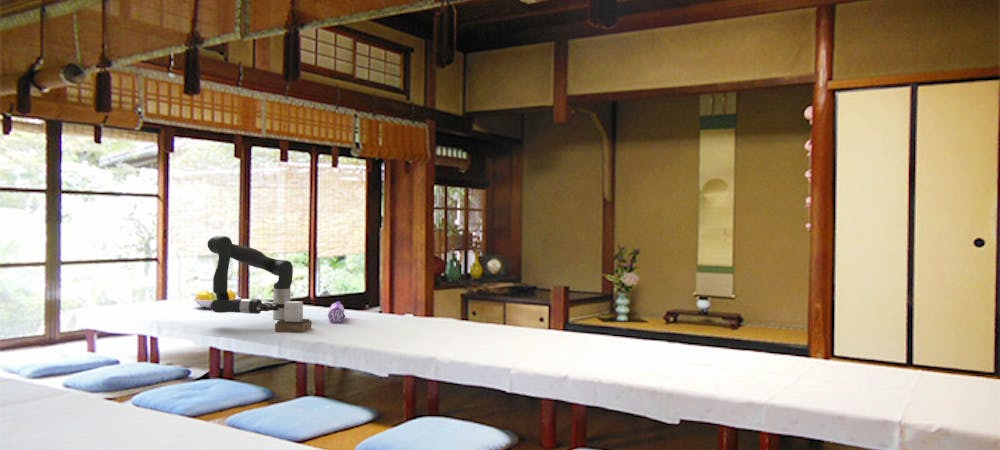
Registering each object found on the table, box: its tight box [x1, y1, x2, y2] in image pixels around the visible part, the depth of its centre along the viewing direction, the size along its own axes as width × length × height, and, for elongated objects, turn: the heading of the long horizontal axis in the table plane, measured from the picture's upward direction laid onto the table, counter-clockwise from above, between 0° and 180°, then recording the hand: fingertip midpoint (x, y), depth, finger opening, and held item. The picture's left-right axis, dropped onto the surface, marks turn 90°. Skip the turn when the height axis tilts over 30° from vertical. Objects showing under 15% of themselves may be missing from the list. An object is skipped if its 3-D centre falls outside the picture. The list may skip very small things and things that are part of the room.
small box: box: [284, 300, 304, 322], centre depth 366 cm, size 8×6×10 cm
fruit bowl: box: [193, 289, 241, 309], centre depth 440 cm, size 28×27×11 cm
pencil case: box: [327, 301, 346, 324], centre depth 400 cm, size 22×9×10 cm, turn 14°
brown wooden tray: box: [274, 318, 312, 333], centre depth 366 cm, size 14×14×5 cm
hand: (281, 307), depth 366 cm, fingers open, 8 cm apart
